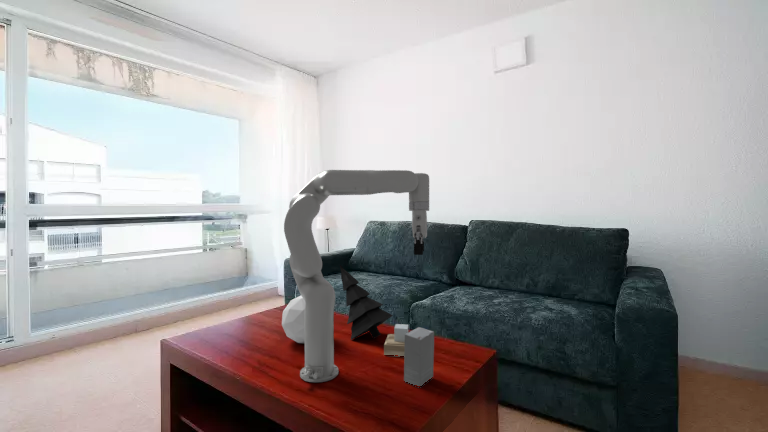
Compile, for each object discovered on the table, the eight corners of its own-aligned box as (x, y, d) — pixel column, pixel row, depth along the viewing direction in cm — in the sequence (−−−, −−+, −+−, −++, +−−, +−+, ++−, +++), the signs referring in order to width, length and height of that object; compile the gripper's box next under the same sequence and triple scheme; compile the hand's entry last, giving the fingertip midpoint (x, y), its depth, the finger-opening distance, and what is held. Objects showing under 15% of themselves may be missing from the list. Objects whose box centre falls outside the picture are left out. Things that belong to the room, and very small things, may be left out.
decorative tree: (375, 338, 162) (340, 270, 173) (398, 324, 155) (360, 254, 166) (354, 349, 150) (318, 275, 161) (378, 334, 143) (339, 258, 154)
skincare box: (417, 373, 121) (417, 325, 121) (435, 379, 117) (435, 330, 116) (402, 382, 115) (402, 332, 114) (421, 389, 110) (421, 337, 110)
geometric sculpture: (294, 360, 147) (262, 323, 144) (317, 328, 165) (289, 295, 162) (325, 346, 138) (292, 306, 136) (346, 314, 156) (317, 278, 153)
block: (407, 341, 138) (407, 328, 137) (394, 341, 138) (394, 328, 138) (408, 337, 143) (408, 324, 142) (395, 336, 143) (395, 324, 143)
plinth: (416, 357, 134) (416, 345, 134) (384, 355, 136) (384, 344, 135) (417, 345, 146) (417, 334, 146) (388, 343, 147) (388, 333, 147)
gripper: (428, 206, 125) (428, 256, 126) (429, 207, 142) (429, 250, 143) (407, 206, 126) (407, 256, 127) (410, 207, 143) (410, 250, 144)
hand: (419, 253), depth 135 cm, fingers open, 9 cm apart
